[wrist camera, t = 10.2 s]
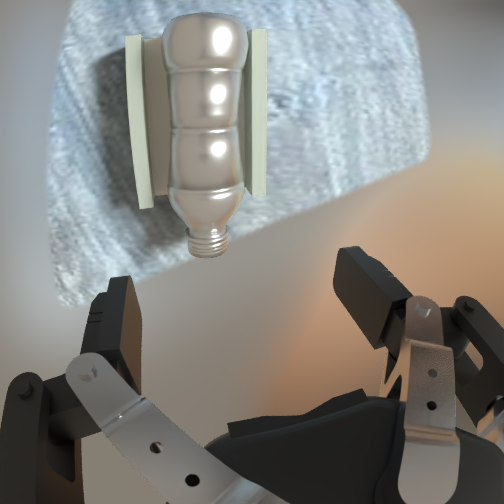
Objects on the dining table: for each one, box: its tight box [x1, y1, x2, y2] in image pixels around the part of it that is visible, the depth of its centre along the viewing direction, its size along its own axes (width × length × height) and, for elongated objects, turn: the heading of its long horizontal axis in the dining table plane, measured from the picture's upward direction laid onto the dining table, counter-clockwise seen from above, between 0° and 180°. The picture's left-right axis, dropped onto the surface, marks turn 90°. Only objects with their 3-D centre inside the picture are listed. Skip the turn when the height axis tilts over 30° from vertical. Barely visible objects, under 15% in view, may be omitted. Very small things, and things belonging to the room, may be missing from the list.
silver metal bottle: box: [161, 12, 248, 258], centre depth 23 cm, size 6×7×20 cm
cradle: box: [125, 29, 267, 209], centre depth 24 cm, size 14×11×4 cm
